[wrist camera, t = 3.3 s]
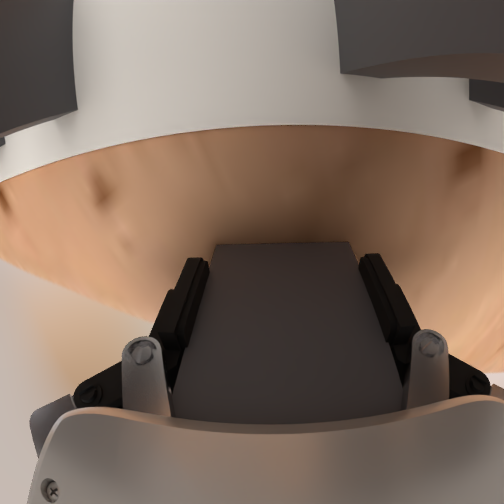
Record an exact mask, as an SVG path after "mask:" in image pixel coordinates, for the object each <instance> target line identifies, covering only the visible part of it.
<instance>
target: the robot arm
mask: <svg viewBox="0 0 504 504" xmlns="http://www.w3.org/2000/svg"><path fill="white" fill-rule="evenodd" d="M358 269H359V272H360V274H361V276H362V279H363V281H364V284H365V286H366V289H367V292H368V294H369V297H370V299H371V302H372V305H373V307H374V310H375V313H376V316H377V318H378V321H379V324H380V327H381V330H382V333H383V336H384V338H385V341H386V343H387V342H388V343H389V346H390V349H391V352H392V355H393V358H394V361H395V364H396V367H397V371H398V374H399V377H400V381H401V384H402V388H403V394H402V401H401V408H400V411H398V412H393V413H388V414H382V415H377V416H371V417H364V418H357V419H350V420H341V421H332V422H321V423H306V424H275V425H265V424H233V423H218V422H207V421H197V420H189V419H181V418H176V415H175V410H174V405H173V399H172V394H173V390H174V387H175V383H176V379H177V375H178V372H179V368H180V365H181V361H182V357H183V354H184V350H185V348H188V345H189V342H190V338H191V334H192V331H193V327H194V324H195V320H196V317H197V313H198V310H199V306H200V303H201V300H202V296H203V293H204V289H205V286H206V283H207V279H208V276H209V273H210V271H209V265H208V262H207V261H203V258H188V259H187V261H186V263H185V266H184V268H183V270H182V273H181V275H180V277H179V280H178V282H177V284H176V287H175V289H170V290H169V291H168V293H167V295H166V297H165V299H164V302H163V304H162V306H161V309H160V311H159V313H158V316H157V318H156V320H155V323H154V325H153V328H152V330H151V333H150V335H149V337H147V336H145V337H138V338H135V339H133V340H132V341H130V342H129V343H128V344H127V345H126V346H125V348H124V350H123V353H122V361H121V362H119V363H117V364H115V365H113V366H111V367H110V368H108V369H106V370H104V371H102V372H100V373H98V374H97V375H95V376H93V377H91V378H89V379H87V380H85V381H84V382H82V383H81V384H79V386H78V387H77V388H76V390H75V392H74V395H73V396H71V395H70V394H68V395H66V396H64V397H62V398H60V399H58V400H56V401H54V402H52V403H50V404H48V405H46V406H43V407H41V408H39V409H37V410H36V411H34V412H33V414H32V415H31V418H30V429H31V433H32V437H33V441H34V445H35V449H36V452H37V455H38V462H37V465H36V469H35V472H34V476H33V479H32V483H31V488H30V492H29V496H28V501H27V504H504V389H503V388H501V387H499V386H497V385H495V384H493V385H492V386H490V382H489V380H488V378H487V377H486V375H485V374H484V373H482V372H481V371H479V370H478V369H476V368H474V367H472V366H470V365H468V364H467V363H465V362H463V361H461V360H459V359H457V358H456V357H454V356H452V355H450V354H448V346H447V342H446V340H445V339H444V337H443V336H442V335H441V334H439V333H438V332H436V331H433V330H429V329H424V330H421V329H420V327H419V325H418V322H417V320H416V318H415V316H414V314H413V312H412V310H411V308H410V306H409V304H408V302H407V300H406V298H405V296H404V294H403V292H402V290H401V288H400V286H399V285H398V284H395V282H394V280H393V278H392V276H391V274H390V272H389V270H388V268H387V267H386V265H385V263H384V261H383V259H382V257H381V256H380V254H378V253H375V254H365V256H364V257H361V259H360V262H359V268H358Z"/></svg>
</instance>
